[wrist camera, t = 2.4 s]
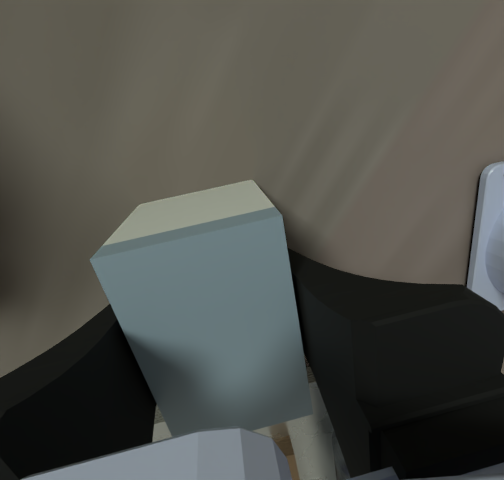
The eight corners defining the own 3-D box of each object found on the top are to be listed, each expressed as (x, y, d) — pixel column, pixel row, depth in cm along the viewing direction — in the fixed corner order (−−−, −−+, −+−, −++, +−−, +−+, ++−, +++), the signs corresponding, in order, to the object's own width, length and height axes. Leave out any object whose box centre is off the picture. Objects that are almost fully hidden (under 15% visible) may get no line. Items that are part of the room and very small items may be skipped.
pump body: (252, 179, 11) (282, 215, 7) (278, 319, 14) (313, 413, 9) (139, 204, 11) (89, 259, 6) (188, 342, 14) (178, 450, 9)
